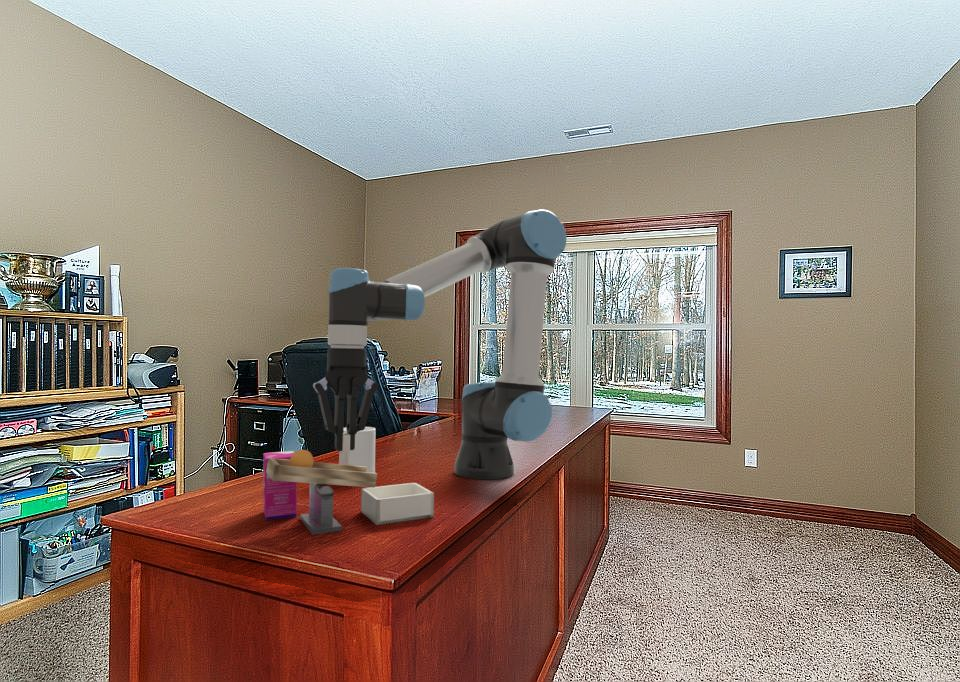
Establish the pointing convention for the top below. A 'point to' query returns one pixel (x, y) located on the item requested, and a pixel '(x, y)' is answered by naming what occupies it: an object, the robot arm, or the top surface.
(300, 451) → the ball
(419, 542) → the top surface
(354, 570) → the top surface
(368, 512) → the white storage bin
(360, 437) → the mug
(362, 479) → the seesaw
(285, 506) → the supplement box
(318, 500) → the fulcrum
